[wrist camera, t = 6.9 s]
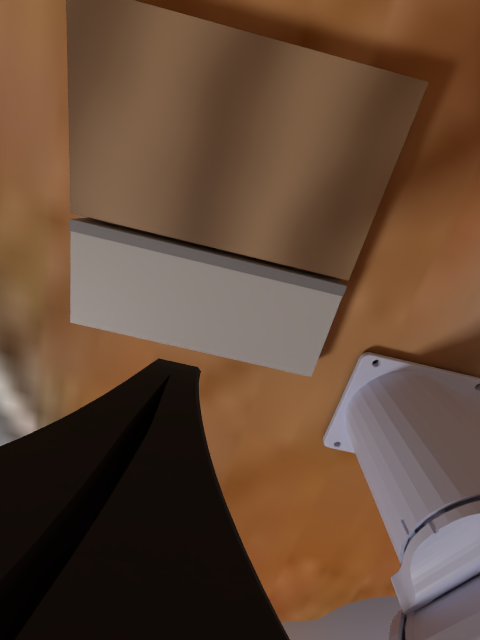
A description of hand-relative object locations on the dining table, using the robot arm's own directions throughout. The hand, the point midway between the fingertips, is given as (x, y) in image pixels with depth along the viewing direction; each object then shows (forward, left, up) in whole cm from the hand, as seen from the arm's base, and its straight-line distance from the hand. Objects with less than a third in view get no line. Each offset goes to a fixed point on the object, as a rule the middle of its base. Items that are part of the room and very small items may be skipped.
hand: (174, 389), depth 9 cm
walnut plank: (+1, -8, -9) cm, 12 cm away
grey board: (0, 0, -9) cm, 9 cm away
